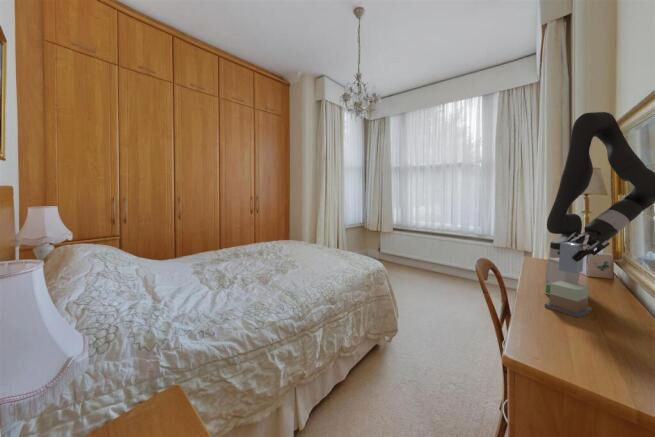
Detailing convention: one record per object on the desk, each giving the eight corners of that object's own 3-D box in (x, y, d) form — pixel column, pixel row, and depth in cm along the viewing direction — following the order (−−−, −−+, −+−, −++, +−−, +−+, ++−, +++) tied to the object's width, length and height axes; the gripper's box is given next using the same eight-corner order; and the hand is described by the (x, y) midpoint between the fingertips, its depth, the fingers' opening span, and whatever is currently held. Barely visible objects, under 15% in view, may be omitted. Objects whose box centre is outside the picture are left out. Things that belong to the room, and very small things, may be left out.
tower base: (544, 306, 101) (546, 283, 100) (557, 301, 106) (559, 278, 105) (578, 317, 92) (580, 291, 91) (591, 311, 97) (593, 286, 96)
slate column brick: (558, 270, 99) (560, 243, 98) (565, 268, 101) (567, 241, 100) (575, 273, 94) (578, 245, 93) (582, 271, 96) (584, 244, 96)
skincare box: (544, 293, 114) (546, 257, 112) (558, 292, 115) (560, 257, 113) (563, 301, 106) (566, 263, 104) (578, 300, 106) (581, 262, 105)
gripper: (582, 216, 102) (546, 246, 105) (616, 220, 87) (573, 254, 90) (597, 230, 101) (560, 259, 104) (634, 236, 87) (590, 270, 90)
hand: (566, 257), depth 97 cm, fingers closed on slate column brick, 7 cm apart
